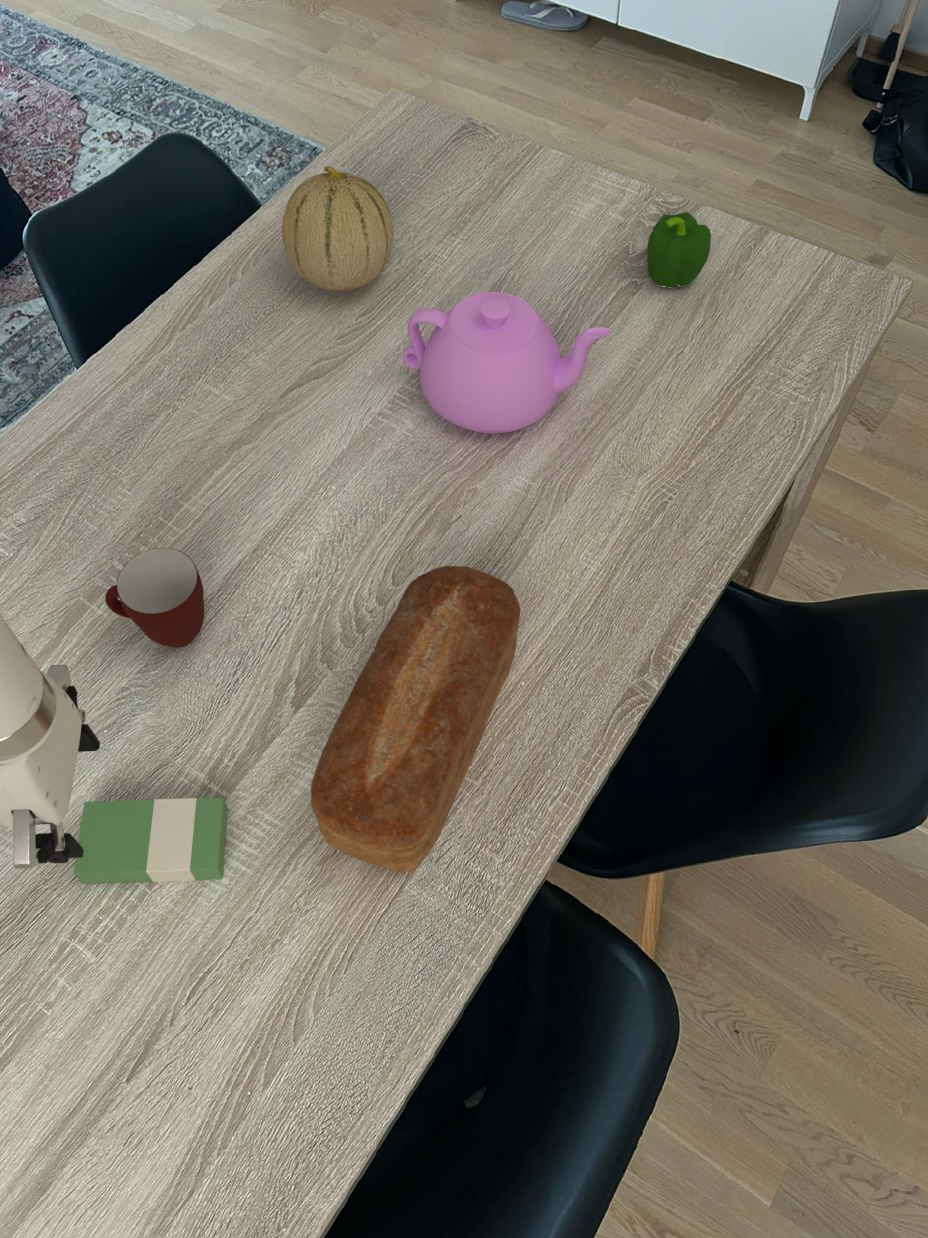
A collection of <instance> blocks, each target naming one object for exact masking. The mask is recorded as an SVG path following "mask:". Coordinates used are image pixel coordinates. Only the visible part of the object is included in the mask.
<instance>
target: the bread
mask: <svg viewBox="0 0 928 1238" xmlns="http://www.w3.org/2000/svg"><path fill="white" fill-rule="evenodd" d="M520 619H521V606H520V603H519V600H518V598H517V596H516V594H515V591H514V589H513V588H512V587H511V586H510V584H508V583H507V582H505V581H504V580H502V579H500V578H498V577H496V576H494V575H491V574H489V573H487V572H484V571H482V570H478V569H476V568H472V567H470V566H461V565H460V566H459V565H444V566H439V567H434V568H433V569H431V570H429V571H427V572H425V573H423V574H421V575H418V576H417V577H416V578H414V579H413V580H412V581H411V582H409V584H408V585H407V588H406V589H405V590H404V592H403V594H402V595H401V597H400V599H399V602H398V604H397V606H396V608H395V611H394V612H393V614H392V615H391V617H390V618H389V620H388V622H386V625H385V627H384V628H383V631H382V632H381V634H380V635H379V637H378V640H377V642H376V644H375V646H374V649H373V650H372V653H370V656H369V657H368V659H367V661H366V663H365V664H364V666H363V668H362V670H361V672H360V674H359V675H358V678H357V680H356V681H355V683H354V685H353V687H352V689H351V692H350V693H349V695H348V697H347V700H346V702H345V704H344V705H343V708H342V710H341V712H340V713H339V715H338V717H337V719H336V721H335V723H334V726H333V728H332V730H331V732H330V734H329V735H328V738H327V740H326V743H325V745H324V747H323V749H322V751H321V754H320V757H319V759H318V762H317V764H316V768H315V771H314V775H313V777H312V781H311V784H310V807H311V809H312V811H313V813H314V816H315V817H314V818H315V820H316V822H317V824H318V827H319V833H320V834H321V835H322V837H323V838H324V841H326V843H327V845H329V846H330V847H333V848H334V849H336V850H338V851H340V852H342V853H344V854H346V855H348V856H350V857H353V858H354V859H357V860H359V861H361V862H364V863H367V864H371V865H373V866H377V867H379V868H380V867H381V868H384V869H386V870H390V871H394V872H397V873H402V872H411V871H415V870H416V869H417V868H418V867H419V866H420V864H421V863H422V862H423V861H424V860H425V859H426V857H427V856H428V855H429V853H430V852H431V850H432V849H433V847H434V846H435V844H436V842H437V840H438V838H439V836H440V834H441V832H442V830H443V828H444V825H445V823H446V820H447V818H448V816H449V813H450V811H451V808H452V806H453V804H454V801H455V799H456V797H457V794H458V792H459V789H460V787H461V785H462V782H463V781H464V779H465V777H466V774H467V772H468V770H469V769H470V766H471V763H472V760H473V759H474V756H475V754H476V752H477V749H478V747H479V745H480V743H481V740H482V737H483V734H484V731H485V729H486V726H487V723H488V721H489V718H490V716H491V713H492V710H493V708H494V706H495V705H496V704H495V703H496V701H497V699H498V697H499V694H500V693H501V690H502V688H503V686H504V684H505V682H506V680H507V677H508V675H509V674H510V671H511V668H512V664H513V662H514V658H515V653H516V649H517V633H518V629H519V624H520Z"/></svg>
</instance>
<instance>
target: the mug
mask: <svg viewBox="0 0 928 1238" xmlns="http://www.w3.org/2000/svg"><path fill="white" fill-rule="evenodd" d="M118 573H119V574H118V576H117V579H116V584H114V585H112V586H110V587H109V588H108V589H107V591H106V593H105V596H104V601H105V605H106V606H107V607H108V609H109V610H110V611H112V612H113V613H114V614H116V615H118V616H120V617H123V618H126V619H130V620H131V621H132V622H133V623H134V624H135V625H136V626H137V627H138V628H139V630H141V632H143V634H144V635H145V636H146V637H147V638H148V639H150V640H151V641H152V642H154V643H156V644H157V645H160V646H164V647H169V648H173V649H175V648H176V649H177V648H184V647H185V646H188V645H189V644H191V643H192V642H193V641H194V640H195V639H196V637H197V636H198V635H199V633H200V631H201V630H202V627H203V624H204V621H205V595H204V594H205V593H204V586H203V585H204V584H203V582H202V579H201V576H200V573H199V570H198V568H197V566H196V564H195V562H194V561H193V560H192V558H191V557H190V556H189V555H188V554H186V553H184V552H182V551H180V550H178V549H174V548H169V547H157V548H156V547H155V548H151V549H147V550H145V551H142V552H140V553H137V554H136V555H135V556H133V557H132V558H130V559H129V560H128V561H127V562H126V563H125V564H124V565H123V567H122V568H121V570H120V571H119V572H118Z"/></svg>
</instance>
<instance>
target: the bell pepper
mask: <svg viewBox="0 0 928 1238" xmlns="http://www.w3.org/2000/svg"><path fill="white" fill-rule="evenodd" d="M711 243H712V234H711V229H710V228H709V227H708V226H707V225H706V224H698V221H697V219H696V218H695V217H694V216H693V215H692V214H691V213H689V212H688V211H684V212H681V213H677V214H662V215H661V217H660V218H659V219H658V220H657V222H656V223H655V225H654V226H653V228H652V231H651V232H650V234H649V236H648V242H647V246H646V247H647V248H646V249H647V250H646V251H647V252H646V258H647V259H646V262H647V272H648V276H649V277H650V279H651V278H652V279H651V281H654V282H655V283H656V284H658V285H660V286H666V287H672V288H674V287H675V286H674V285H676V284H677V285H680V286H685V285H687V286H689V285H690V284H691V283H693V281H695V280H696V279H697V278H698V276H699V274H700V273H701V272H702V269H703V268H704V266H705V265H706V264H707V261H708V258H709V255H710V251H711ZM654 282H653V283H654ZM655 283H654V284H655ZM656 284H655V285H656ZM688 284H689V285H688ZM658 285H657V286H658ZM673 286H674V287H673Z"/></svg>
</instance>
